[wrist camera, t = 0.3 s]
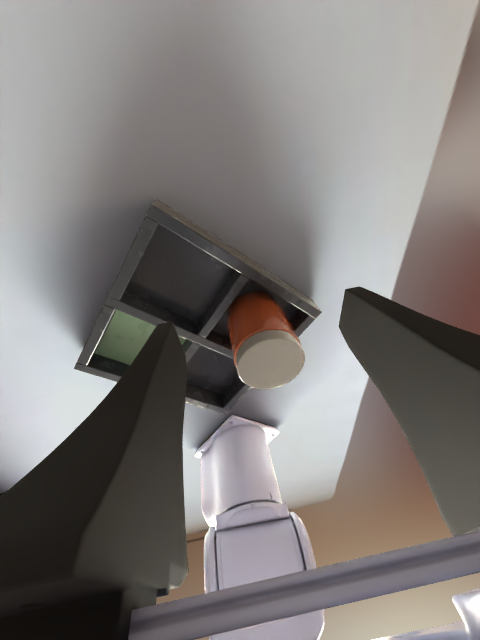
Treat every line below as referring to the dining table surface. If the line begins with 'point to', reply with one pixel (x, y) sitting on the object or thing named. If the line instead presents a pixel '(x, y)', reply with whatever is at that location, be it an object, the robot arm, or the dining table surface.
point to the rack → (184, 306)
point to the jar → (263, 341)
